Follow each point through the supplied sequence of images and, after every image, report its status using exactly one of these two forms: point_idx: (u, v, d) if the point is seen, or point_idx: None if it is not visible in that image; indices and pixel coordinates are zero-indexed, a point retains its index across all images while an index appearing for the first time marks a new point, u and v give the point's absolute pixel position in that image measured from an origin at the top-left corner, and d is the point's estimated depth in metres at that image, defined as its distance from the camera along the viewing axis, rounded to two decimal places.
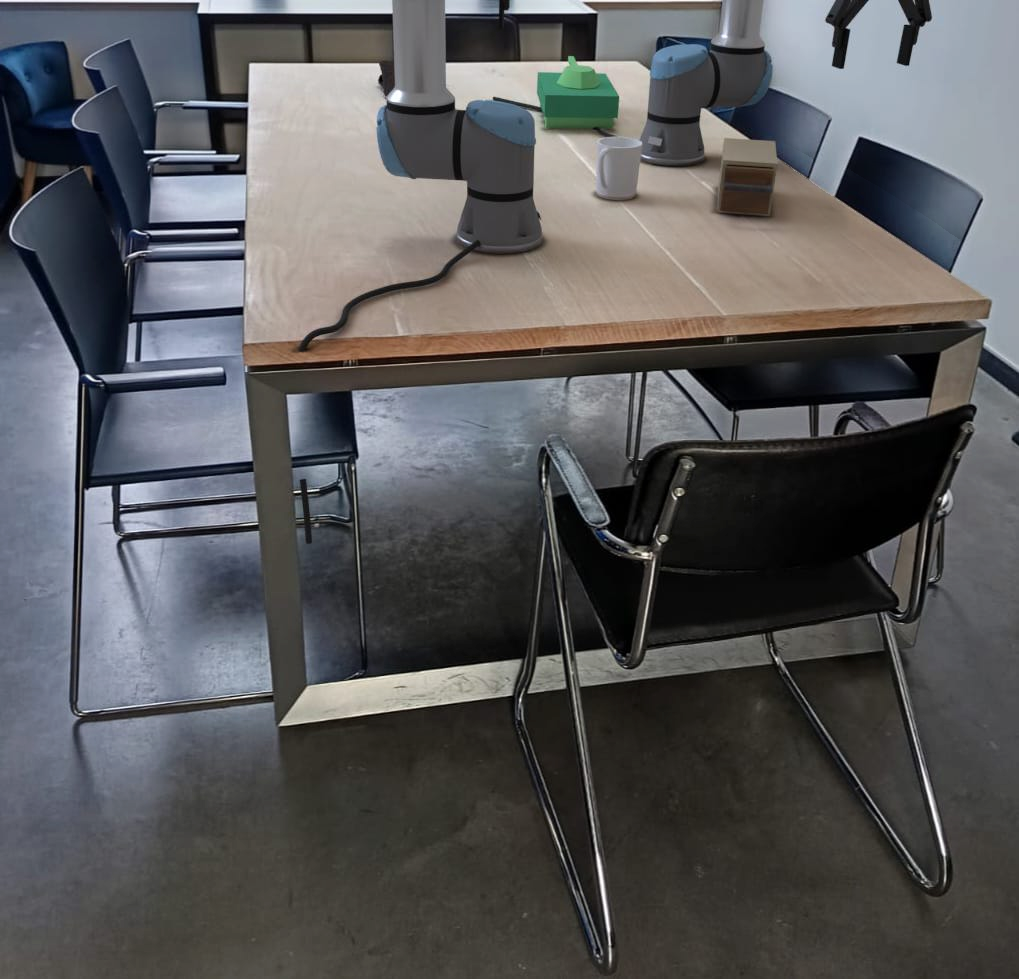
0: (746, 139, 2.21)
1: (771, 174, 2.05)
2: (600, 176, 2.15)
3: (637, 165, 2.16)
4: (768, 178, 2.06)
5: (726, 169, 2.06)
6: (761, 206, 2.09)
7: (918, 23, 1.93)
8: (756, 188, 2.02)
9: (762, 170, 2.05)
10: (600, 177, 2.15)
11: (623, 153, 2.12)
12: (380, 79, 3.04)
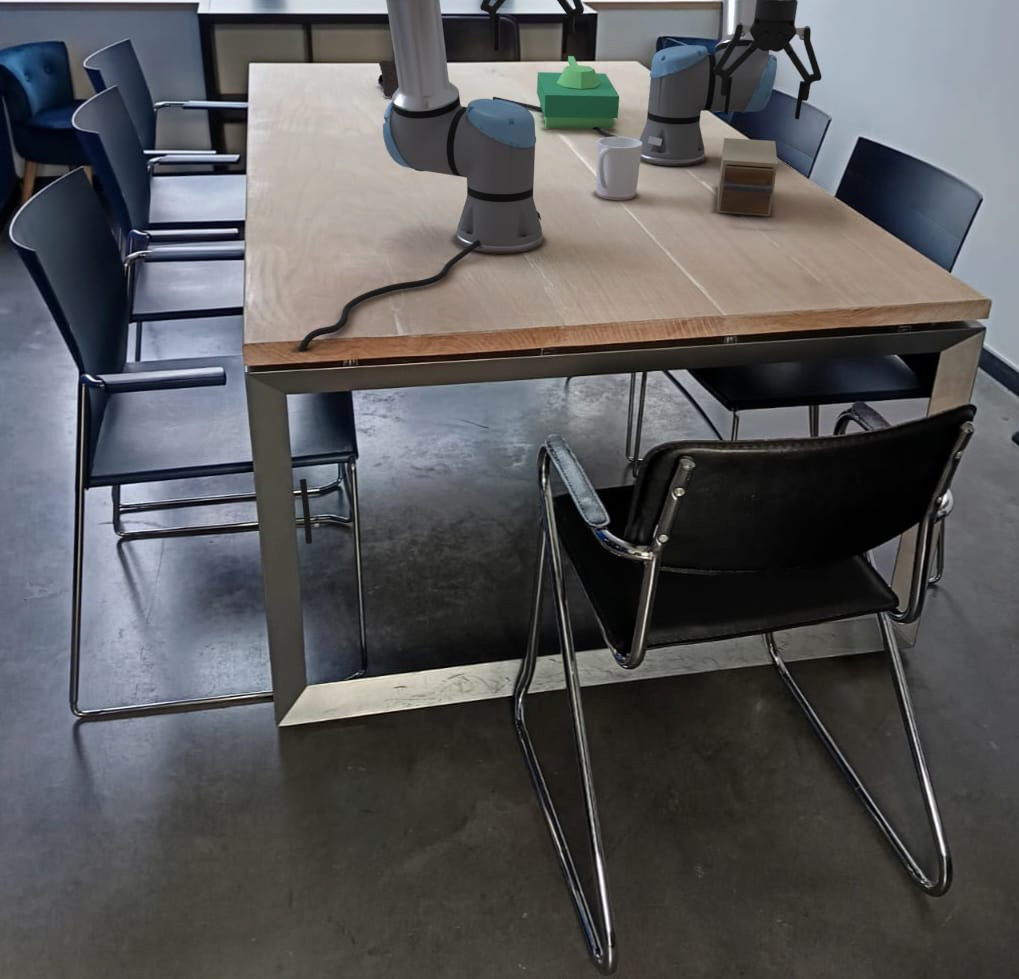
0: (746, 139, 2.21)
1: (771, 174, 2.05)
2: (600, 176, 2.15)
3: (637, 165, 2.16)
4: (768, 178, 2.06)
5: (726, 169, 2.06)
6: (761, 206, 2.09)
7: None
8: (756, 188, 2.02)
9: (762, 170, 2.05)
10: (600, 177, 2.15)
11: (623, 153, 2.12)
12: (380, 79, 3.04)
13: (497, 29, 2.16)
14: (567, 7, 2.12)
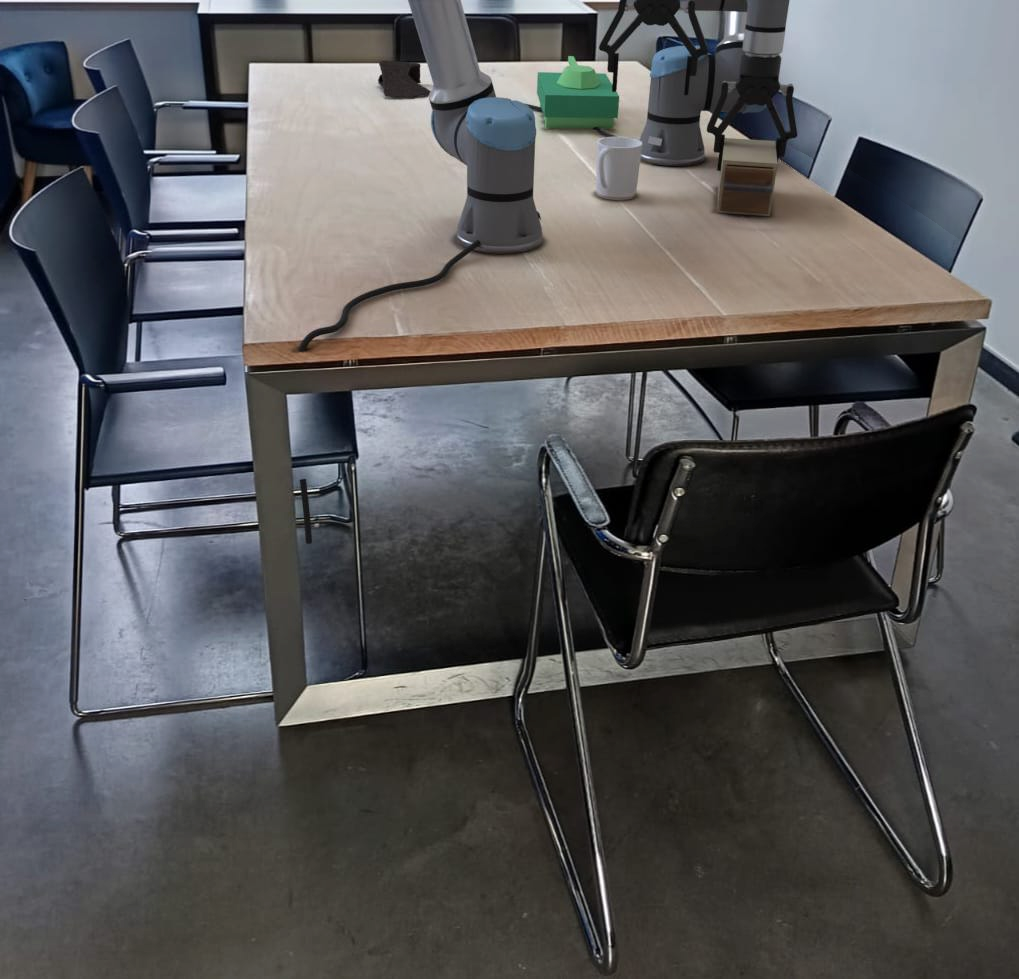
0: (746, 139, 2.21)
1: (771, 174, 2.05)
2: (600, 176, 2.15)
3: (637, 165, 2.16)
4: (768, 178, 2.06)
5: (726, 169, 2.06)
6: (761, 206, 2.09)
7: None
8: (756, 188, 2.02)
9: (762, 170, 2.05)
10: (600, 177, 2.15)
11: (623, 153, 2.12)
12: (380, 79, 3.04)
13: (616, 70, 2.06)
14: (691, 47, 2.02)
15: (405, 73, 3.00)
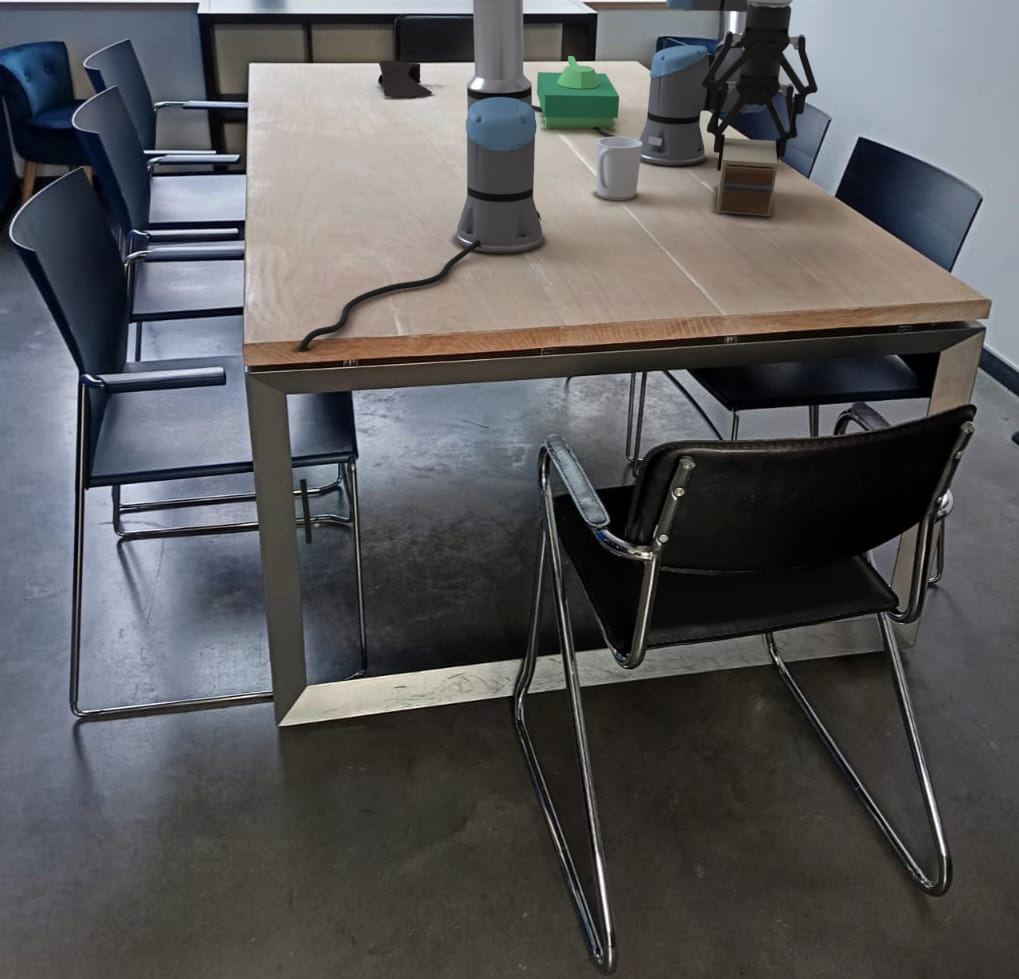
0: (746, 139, 2.21)
1: (771, 174, 2.05)
2: (600, 176, 2.15)
3: (637, 165, 2.16)
4: (768, 178, 2.06)
5: (726, 169, 2.06)
6: (761, 206, 2.09)
7: None
8: (756, 188, 2.02)
9: (762, 170, 2.05)
10: (600, 177, 2.15)
11: (623, 153, 2.12)
12: (380, 79, 3.04)
13: (719, 107, 1.97)
14: (799, 85, 1.93)
15: (405, 73, 3.00)
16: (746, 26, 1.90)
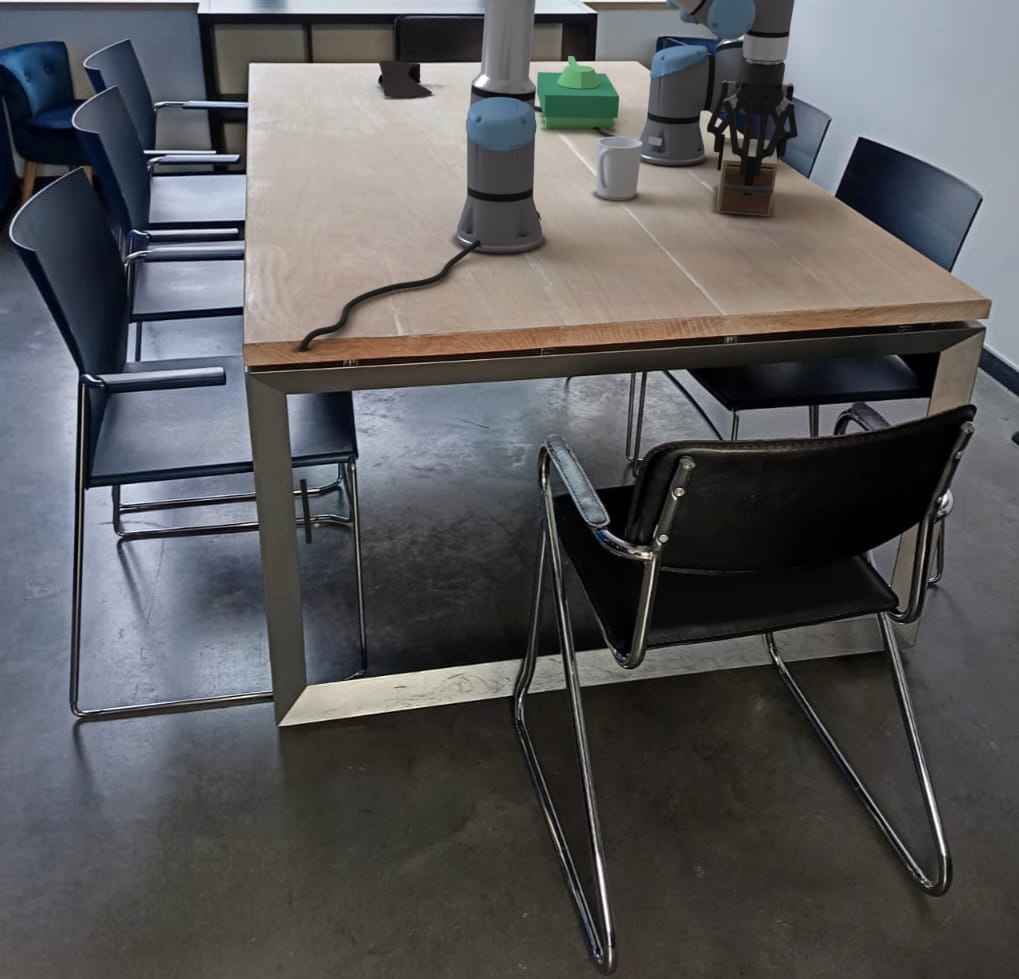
0: None
1: (771, 174, 2.05)
2: (600, 176, 2.15)
3: (637, 165, 2.16)
4: (768, 178, 2.06)
5: (726, 169, 2.06)
6: (761, 206, 2.09)
7: None
8: (756, 188, 2.02)
9: (762, 170, 2.05)
10: (600, 177, 2.15)
11: (623, 153, 2.12)
12: (380, 79, 3.04)
13: (748, 173, 2.02)
14: (761, 148, 2.00)
15: (405, 73, 3.00)
16: (741, 81, 1.94)
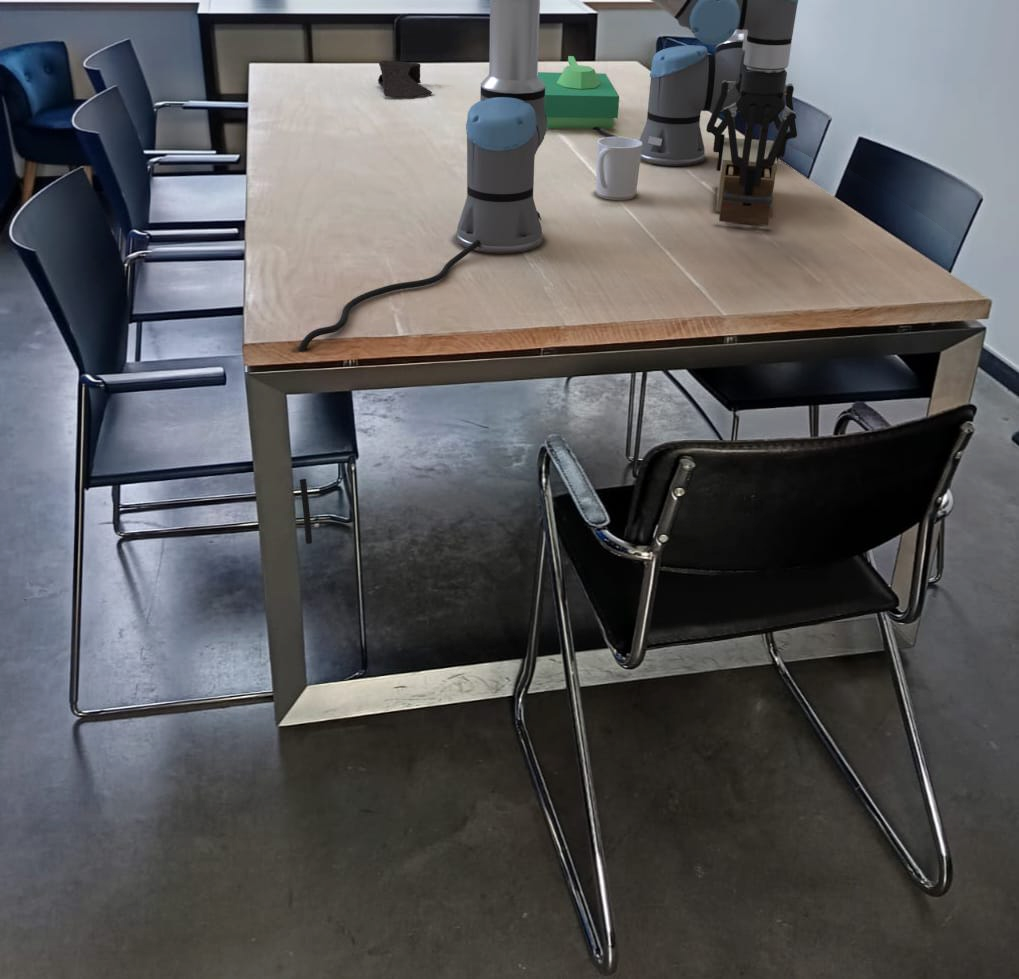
0: None
1: (772, 184, 2.00)
2: (600, 176, 2.15)
3: (637, 165, 2.16)
4: (768, 188, 2.00)
5: (725, 179, 2.01)
6: (761, 217, 2.03)
7: None
8: (756, 198, 1.96)
9: (762, 180, 2.00)
10: (600, 177, 2.15)
11: (623, 153, 2.12)
12: (380, 79, 3.04)
13: (748, 184, 1.97)
14: (762, 158, 1.94)
15: (405, 73, 3.00)
16: (741, 90, 1.89)
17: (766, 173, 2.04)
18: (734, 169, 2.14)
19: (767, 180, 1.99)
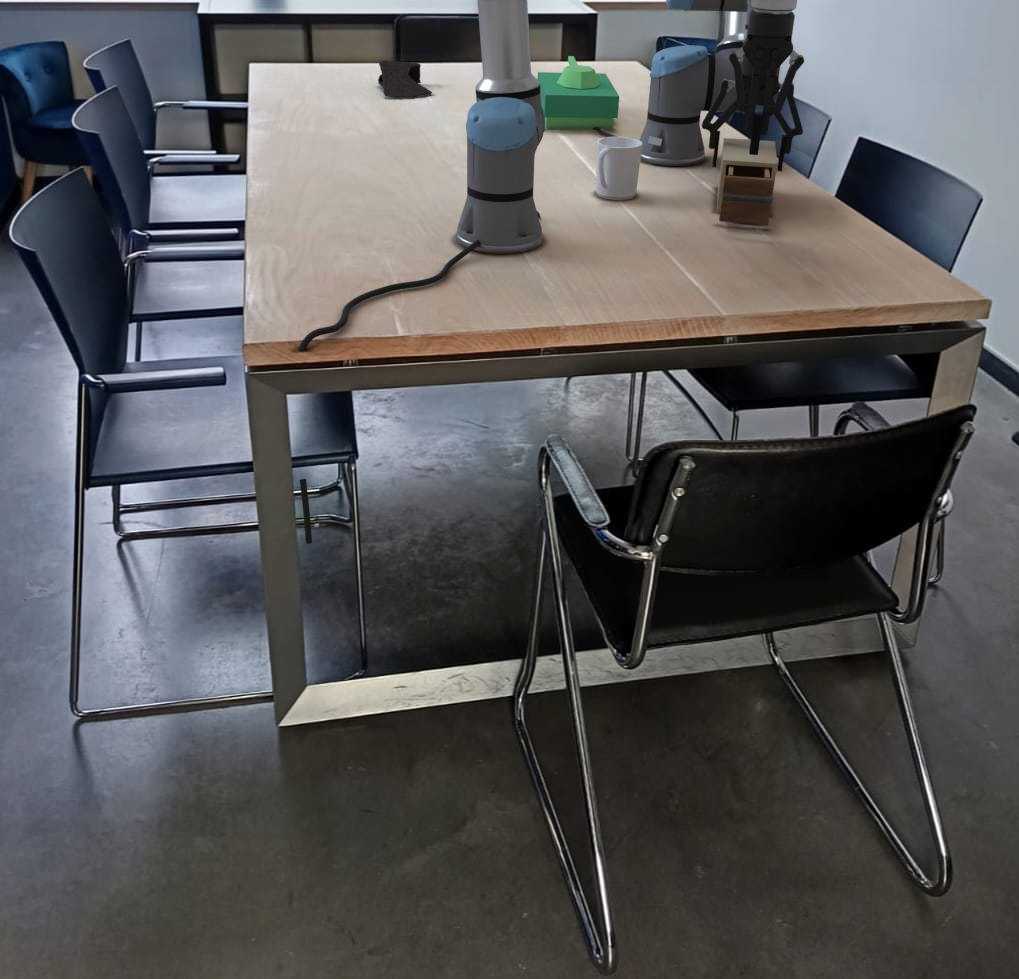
0: (746, 140, 2.21)
1: (772, 184, 2.00)
2: (600, 176, 2.15)
3: (637, 165, 2.16)
4: (769, 188, 2.00)
5: (725, 179, 2.01)
6: (761, 217, 2.03)
7: None
8: (756, 198, 1.96)
9: (762, 180, 2.00)
10: (600, 177, 2.15)
11: (623, 153, 2.12)
12: (380, 79, 3.04)
13: (755, 132, 1.93)
14: (769, 104, 1.90)
15: (405, 73, 3.00)
16: (748, 33, 1.85)
17: (766, 173, 2.04)
18: (734, 169, 2.14)
19: (767, 180, 1.99)
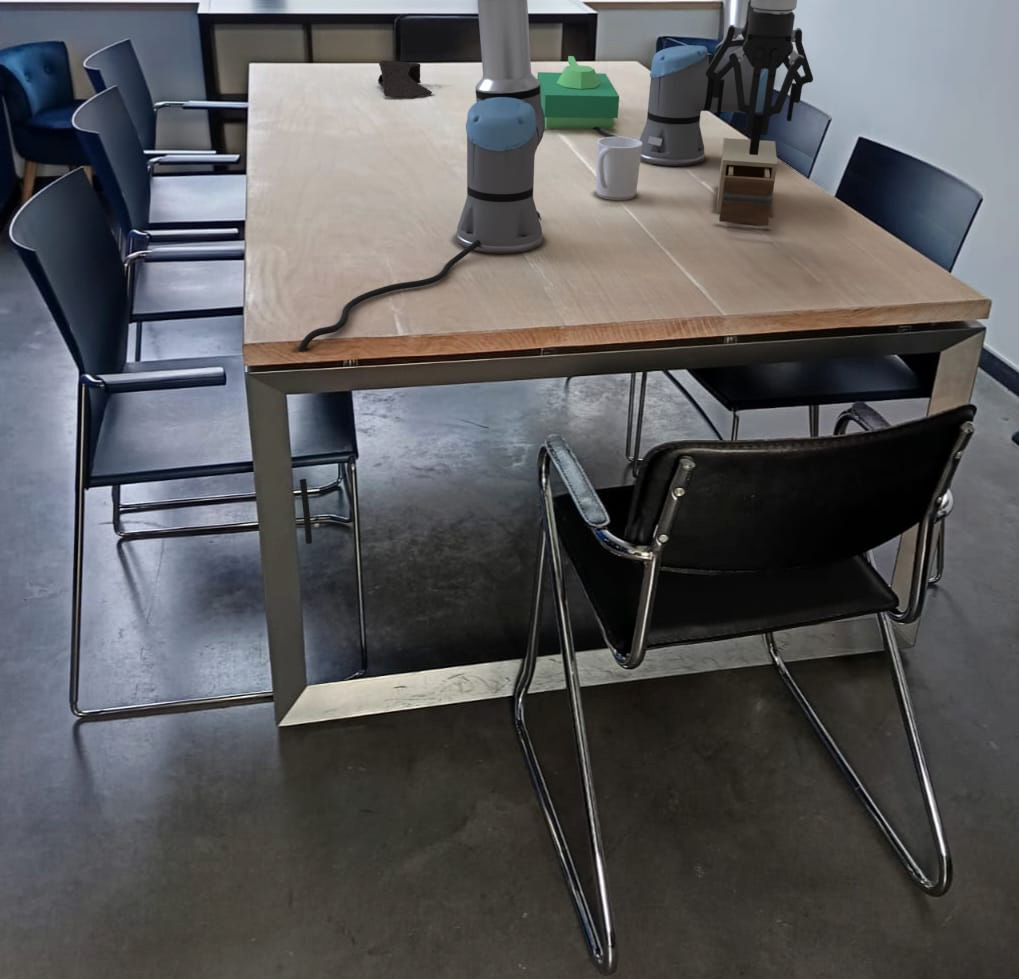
0: (745, 139, 2.21)
1: (772, 184, 2.00)
2: (600, 176, 2.15)
3: (637, 165, 2.16)
4: (768, 188, 2.00)
5: (725, 179, 2.01)
6: (761, 217, 2.03)
7: None
8: (756, 198, 1.96)
9: (762, 180, 2.00)
10: (600, 177, 2.15)
11: (623, 153, 2.12)
12: (380, 79, 3.04)
13: (755, 132, 1.93)
14: (769, 104, 1.90)
15: (405, 73, 3.00)
16: (748, 33, 1.85)
17: (766, 173, 2.04)
18: (734, 169, 2.14)
19: (767, 180, 1.99)
